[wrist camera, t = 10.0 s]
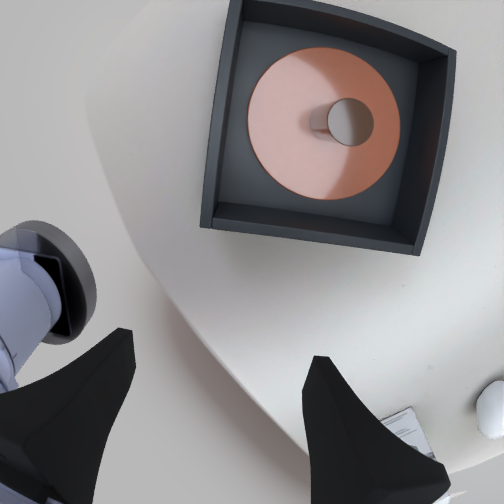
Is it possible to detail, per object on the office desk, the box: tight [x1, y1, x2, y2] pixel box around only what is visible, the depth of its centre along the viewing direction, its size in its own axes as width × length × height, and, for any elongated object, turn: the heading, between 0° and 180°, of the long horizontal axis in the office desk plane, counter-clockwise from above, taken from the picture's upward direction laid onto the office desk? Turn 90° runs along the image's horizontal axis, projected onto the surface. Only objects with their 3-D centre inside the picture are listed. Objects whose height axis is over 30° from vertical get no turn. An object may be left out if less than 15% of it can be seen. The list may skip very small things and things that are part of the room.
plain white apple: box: [476, 381, 504, 439], centre depth 24 cm, size 7×7×8 cm
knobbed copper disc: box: [247, 47, 400, 200], centre depth 15 cm, size 9×9×5 cm
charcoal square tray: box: [200, 0, 457, 256], centre depth 16 cm, size 12×12×4 cm
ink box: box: [380, 407, 451, 504], centre depth 23 cm, size 9×5×12 cm, turn 27°
